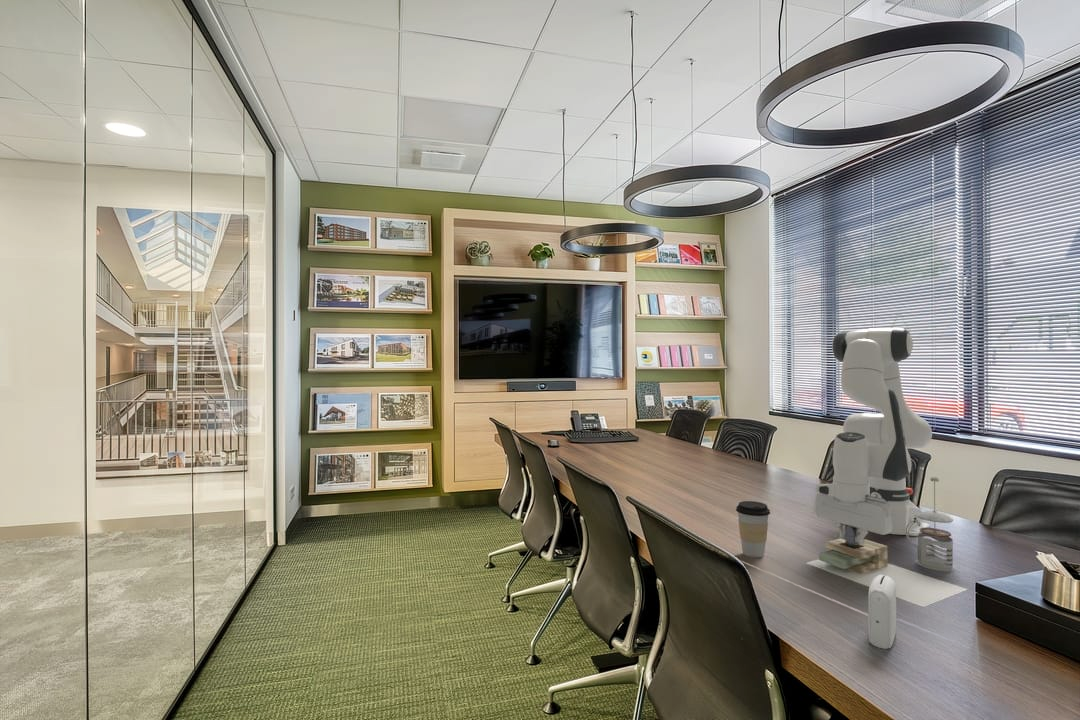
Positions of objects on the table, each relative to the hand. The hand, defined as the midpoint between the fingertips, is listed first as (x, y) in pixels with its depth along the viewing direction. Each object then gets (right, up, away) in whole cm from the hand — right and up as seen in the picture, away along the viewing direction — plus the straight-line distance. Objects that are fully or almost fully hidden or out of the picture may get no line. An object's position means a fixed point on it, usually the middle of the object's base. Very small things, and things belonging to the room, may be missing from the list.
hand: (851, 541), depth 146 cm
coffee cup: (-24, -8, +9) cm, 27 cm away
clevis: (0, -7, 0) cm, 7 cm away
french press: (+22, -7, 0) cm, 23 cm away
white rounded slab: (-16, -7, -37) cm, 41 cm away
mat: (+4, -7, -7) cm, 11 cm away
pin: (0, -5, 0) cm, 5 cm away
